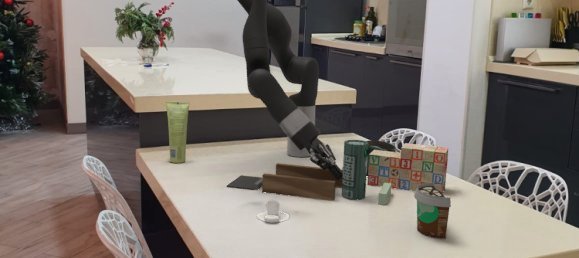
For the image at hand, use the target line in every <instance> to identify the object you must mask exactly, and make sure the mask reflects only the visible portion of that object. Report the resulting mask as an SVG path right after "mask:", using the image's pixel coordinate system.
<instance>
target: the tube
mask: <svg viewBox="0 0 579 258" xmlns="http://www.w3.org/2000/svg"><path fill="white" fill-rule="evenodd" d="M165 106H166V115H167V123H168V142H169V143H168V144H169V161H170V162H171V163H174V164H181V163H185V162H186V159H187V158H186V156H187V155H186V153H187V152H186V150H187V133H188V119H189V118H188V117H189V109H190V102H188V101H187V102H186V101H185V102H184V101H167V100H166V101H165Z"/></svg>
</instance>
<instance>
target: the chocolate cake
mask: <svg viewBox="0 0 579 258" xmlns="http://www.w3.org/2000/svg"><path fill="white" fill-rule="evenodd" d="M365 141H366V142H368V159H367V175H366V176H368V168H369V154H370V153H371V152H372V151H373V150H380V151H389V152H397V150H396V149H397V147H396V146H395V145H394V144H393V143H390V142H387V141H383V140H382V141H381V140H375V139H374V140H370V139H369V140H365ZM341 170H343V166H342V167H341Z"/></svg>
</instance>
